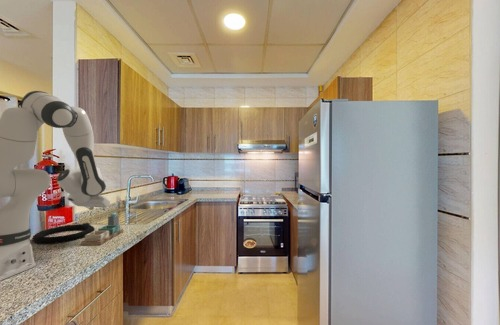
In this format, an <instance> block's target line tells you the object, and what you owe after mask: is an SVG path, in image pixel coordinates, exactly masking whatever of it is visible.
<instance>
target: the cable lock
mask: <svg viewBox="0 0 500 325" xmlns="http://www.w3.org/2000/svg"><path fill="white" fill-rule="evenodd" d="M71 231H73V232H74V231H78V232H75V233H72V234H71V233H70V234H66V235H56V236H49V234H50V235H54V233H55V234H57V233H63V232H71ZM93 231H95V227H94V226H93V225H91V224H90V223H89V222H83V223H80V224H79V223H78V224H67V225H66V224H65V225H59V226H56V227H51V228H47V229H44V230H41V231H40V230H39V232H37V233H35V234H34V235H32V237H31V239H32V242H34V243H36V244H39V243H40V244H41V245H45V244H46V245H52V244H61V243H67V242H72V241H76V240H79V238H80V239H83V237H84V238H85V235H87V234H89V233H91V232H93ZM44 236H45V237H44Z"/></svg>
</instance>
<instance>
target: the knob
mask: <svg viewBox="0 0 500 325" xmlns="http://www.w3.org/2000/svg"><path fill="white" fill-rule="evenodd" d="M119 216H120V215H117V212H111V213H110V216H107V225H120V224H119V222H120V221H119V218H120V217H119Z"/></svg>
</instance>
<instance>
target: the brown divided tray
mask: <svg viewBox="0 0 500 325" xmlns="http://www.w3.org/2000/svg"><path fill="white" fill-rule="evenodd" d="M120 233H121V234H122V233H124V229H121V225H120V224H119V225H108V224H106V225H104V226H101V227H100V228H98V229H97V230H94V231H93V232H91V233H89V234H87V235H85V237H84V240H82V241H81V242H80V246H102V245H104V244H105V243H107V242H109V241H110V240H112V239H113V237H114V238H115V237H117V236H119V235H121V234H120ZM108 240H109V241H108Z"/></svg>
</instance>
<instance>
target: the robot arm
mask: <svg viewBox="0 0 500 325" xmlns="http://www.w3.org/2000/svg"><path fill="white" fill-rule="evenodd" d="M91 123H92V122H91V121H90V118H89V116H88V114H87V111H86V110H84V108H82V107H78V106H70V105H69V104H68V103H66V102H65V101H62V100H61V99H59V97H57V96H54V95H52V94H50V93H48V92H46V91H41V90H32V91H29V92H27V93H26V94H25V95H24V96H23V97H22V99H21V100H20V101H19V102H18V103H17V106H16V107H15V106H14V107H9V108H5V109H4V110H3V112H2V114H1V116H0V198H9V197H10V198H9V200H8V202H7V203H5V204H4V205H2V206H0V282H1V281H3V280H6V279H8V278H10V277H12V276H15V275H18V274H20V273H22V272H25V271H27V270H30V269H32V268H34V267H36V266H37V263H36V260H35V258H34V252H33V246H32V244H31V239H30V238H32V231H31V227H30V215H31V209H32V206H33V204H34V203H35V201H36V200H37V198H38V197H40V196H41V195H42V194H43V193H44V192H45V191H47V190H48V189H49V188H50V186H51V182H52V179H51V176H50V174H49V173H48V171H46V170H44V169H38V168H16V167H18V166H20V165H22V164H24V163H25V164H26V163H28V162H29V161H31V159H33V158H34V156H35V150H36V145H37V139H38V132H39V130H40V128H41V127H42V125H43V124H46V125H47V126H50V127H52V128H58V129H62V132H63V135H64V138H65V141H66V142H67V144H68V146H69V148H70V150H71V152H72V154H73V155H74V157H75V159H76V161H77V164H78V166H79V168H76V169H73V168H71V169H70V168H67V169H65V170H63V171H60V173H59V174H58V176H57V178H56V183H57V184H58V185H59V187H60V188H61V189H62V190H63V191H64V192H65V193H67V194H69V195H68V196H67V198H66V199H67V200H68V201H69V202H71V203H72V204H73V205H74V206H75V207H76V206H77V207H82V208H83V207H84V208H86V209H88V210H89V211H93V210H94V208H102V210H103V211H105V212H107V210H108V209H109V208H108V207H109V205H110V202H111V201H110V200H109V199H108V198H107V197H106V196H104V195H102V193H103V192H105V190H106V187H107V185H106V182H105V180H104V177H103V172H102V170H101V168H100V167H99V166H97V164H96V161H95V137H94V136H95V135H94V130H93V127H92V124H91Z"/></svg>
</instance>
